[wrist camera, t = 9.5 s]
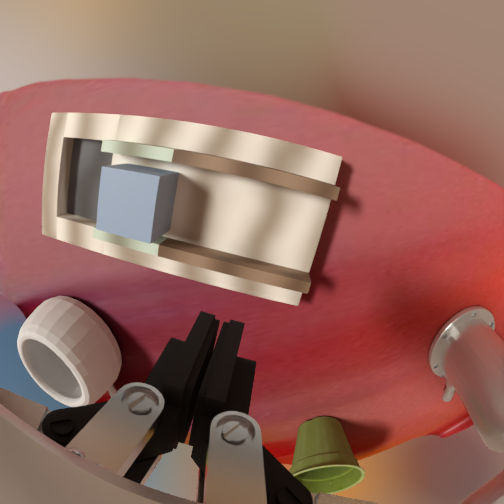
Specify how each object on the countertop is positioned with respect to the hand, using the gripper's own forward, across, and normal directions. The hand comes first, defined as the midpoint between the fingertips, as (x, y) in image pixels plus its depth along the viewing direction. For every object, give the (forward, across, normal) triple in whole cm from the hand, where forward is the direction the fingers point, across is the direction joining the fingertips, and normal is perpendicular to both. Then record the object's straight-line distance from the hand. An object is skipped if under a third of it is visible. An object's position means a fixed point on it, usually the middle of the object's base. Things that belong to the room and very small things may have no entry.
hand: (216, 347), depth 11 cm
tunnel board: (+21, +11, -1) cm, 24 cm away
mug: (+21, +22, +26) cm, 40 cm away
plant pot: (+22, -18, +30) cm, 42 cm away
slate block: (+19, +12, -1) cm, 22 cm away
